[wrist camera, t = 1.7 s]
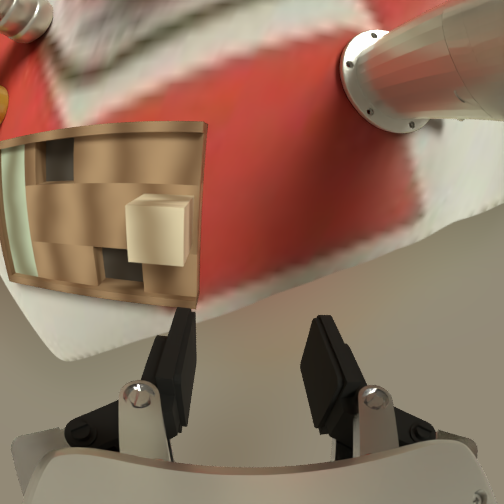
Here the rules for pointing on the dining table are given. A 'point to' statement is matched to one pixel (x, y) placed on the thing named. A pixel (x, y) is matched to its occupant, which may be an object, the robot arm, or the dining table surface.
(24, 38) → the plastic bottle
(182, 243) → the block
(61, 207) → the box
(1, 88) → the plant pot
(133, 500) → the robot arm
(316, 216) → the dining table surface
